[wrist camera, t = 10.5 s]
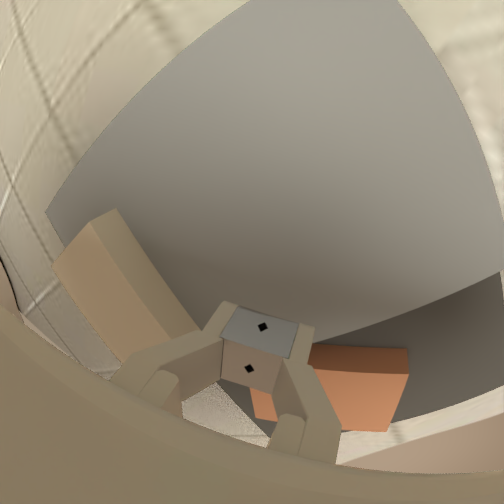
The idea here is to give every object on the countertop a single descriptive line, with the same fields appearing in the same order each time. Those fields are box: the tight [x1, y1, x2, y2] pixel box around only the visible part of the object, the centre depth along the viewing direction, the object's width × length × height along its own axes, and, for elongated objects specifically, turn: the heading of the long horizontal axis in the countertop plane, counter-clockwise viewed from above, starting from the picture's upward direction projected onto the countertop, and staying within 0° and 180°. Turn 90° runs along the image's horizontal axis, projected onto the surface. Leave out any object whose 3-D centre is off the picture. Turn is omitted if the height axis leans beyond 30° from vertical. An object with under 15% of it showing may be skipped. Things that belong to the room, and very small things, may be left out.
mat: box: [216, 272, 504, 438], centre depth 17 cm, size 20×11×1 cm, turn 124°
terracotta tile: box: [250, 343, 409, 432], centre depth 17 cm, size 9×6×2 cm, turn 97°
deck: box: [45, 0, 504, 343], centre depth 14 cm, size 22×14×2 cm, turn 124°
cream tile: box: [51, 208, 201, 364], centre depth 16 cm, size 9×6×2 cm, turn 34°
